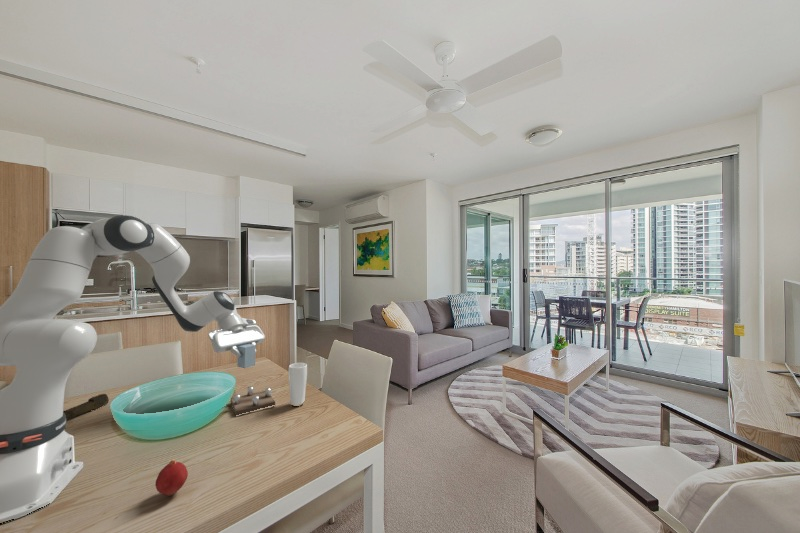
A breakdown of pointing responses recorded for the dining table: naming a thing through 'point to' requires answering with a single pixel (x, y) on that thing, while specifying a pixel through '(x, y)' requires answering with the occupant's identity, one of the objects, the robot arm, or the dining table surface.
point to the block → (246, 356)
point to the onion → (171, 478)
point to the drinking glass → (297, 382)
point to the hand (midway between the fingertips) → (247, 354)
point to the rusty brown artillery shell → (87, 406)
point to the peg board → (252, 401)
